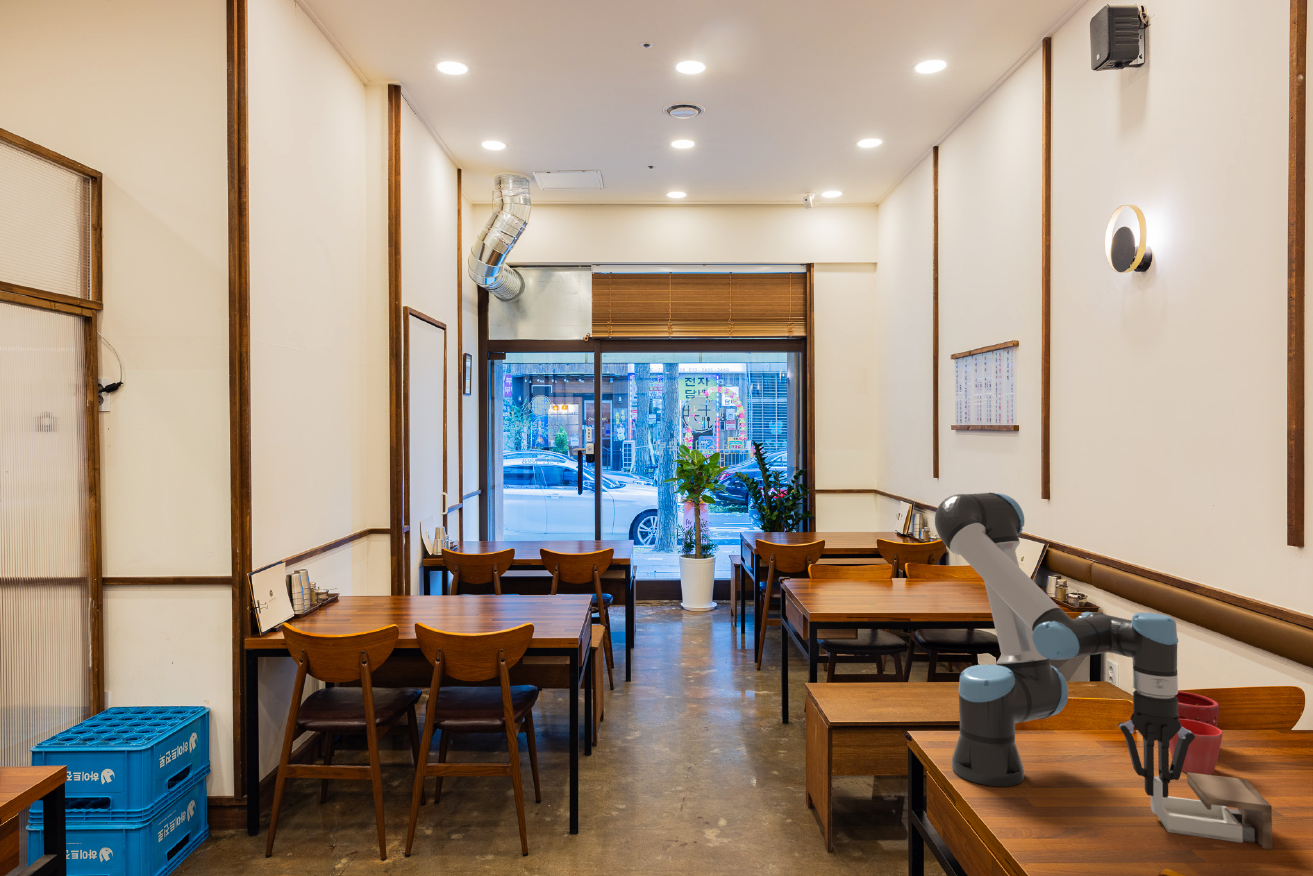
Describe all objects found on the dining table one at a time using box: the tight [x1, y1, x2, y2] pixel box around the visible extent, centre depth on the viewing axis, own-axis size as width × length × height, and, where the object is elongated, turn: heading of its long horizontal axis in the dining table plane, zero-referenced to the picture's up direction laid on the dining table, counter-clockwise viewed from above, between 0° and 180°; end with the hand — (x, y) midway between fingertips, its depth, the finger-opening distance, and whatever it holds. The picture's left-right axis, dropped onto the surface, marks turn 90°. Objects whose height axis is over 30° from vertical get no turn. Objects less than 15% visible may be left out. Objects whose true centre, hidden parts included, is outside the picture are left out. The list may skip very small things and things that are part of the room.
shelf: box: [1186, 772, 1273, 850], centre depth 147 cm, size 10×12×8 cm
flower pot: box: [1169, 719, 1223, 775], centre depth 175 cm, size 11×11×10 cm
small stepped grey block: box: [1227, 808, 1256, 843], centre depth 147 cm, size 2×8×2 cm, turn 160°
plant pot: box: [1175, 690, 1220, 728], centre depth 189 cm, size 13×13×12 cm
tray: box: [1157, 795, 1244, 844], centre depth 149 cm, size 12×10×3 cm
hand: (1156, 812), depth 151 cm, fingers closed
